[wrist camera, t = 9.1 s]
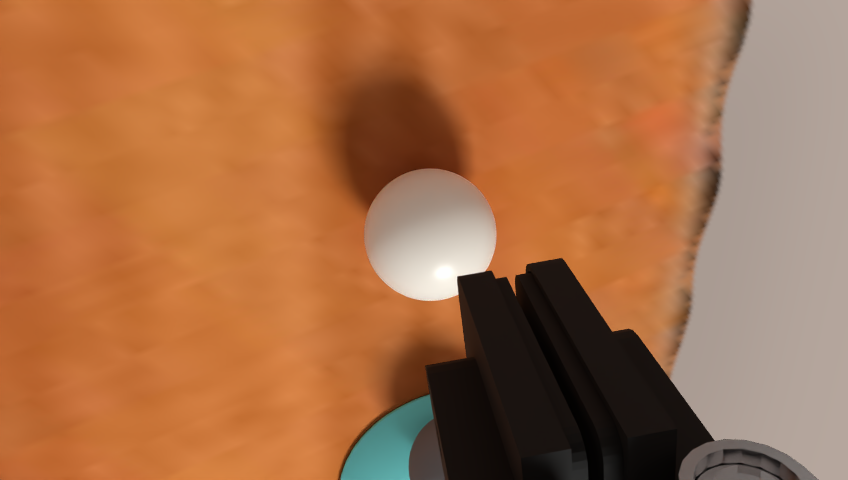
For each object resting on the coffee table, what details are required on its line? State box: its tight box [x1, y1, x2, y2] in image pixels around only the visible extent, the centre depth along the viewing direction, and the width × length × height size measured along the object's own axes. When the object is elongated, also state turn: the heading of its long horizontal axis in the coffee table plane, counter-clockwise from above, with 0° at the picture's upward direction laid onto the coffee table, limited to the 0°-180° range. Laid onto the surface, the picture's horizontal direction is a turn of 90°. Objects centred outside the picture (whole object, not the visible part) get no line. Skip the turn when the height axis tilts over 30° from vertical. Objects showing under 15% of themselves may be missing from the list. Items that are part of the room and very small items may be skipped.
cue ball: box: [364, 168, 496, 301], centre depth 28 cm, size 6×6×6 cm
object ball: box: [409, 419, 445, 480], centre depth 34 cm, size 6×6×6 cm
